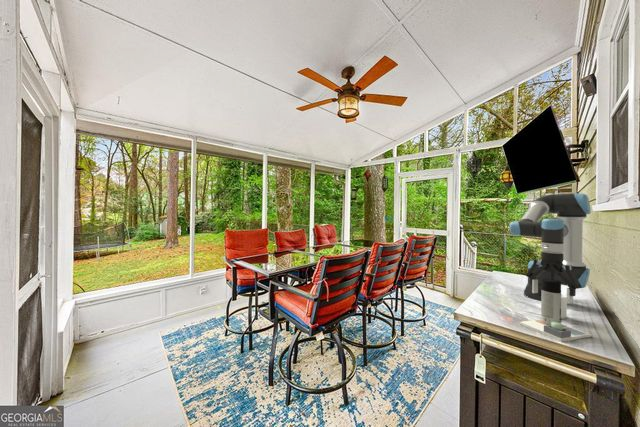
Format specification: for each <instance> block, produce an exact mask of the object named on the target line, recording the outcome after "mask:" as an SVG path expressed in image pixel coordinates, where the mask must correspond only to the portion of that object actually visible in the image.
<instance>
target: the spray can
mask: <svg viewBox="0 0 640 427" xmlns="http://www.w3.org/2000/svg"><path fill="white" fill-rule="evenodd" d="M561 294H562V285H561V282H560V281H558V280H554V279H542V288H541V300H540V301H541V302H540V305H541V307H540V308H541V309H540V319H541V321H542V322H543V323H545V324H548V325H551V322H558V323H561V324H562V319H561Z"/></svg>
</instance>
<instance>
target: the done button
mask: <svg viewBox="0 0 640 427" xmlns="http://www.w3.org/2000/svg"><path fill="white" fill-rule="evenodd" d="M563 324H564V323H562V322H561V323H558V322H551V328H553V329H556V330H558V331H563Z"/></svg>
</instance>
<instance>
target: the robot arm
mask: <svg viewBox="0 0 640 427" xmlns="http://www.w3.org/2000/svg"><path fill="white" fill-rule="evenodd" d="M590 203H591V202H590V198H589V196H588V195H587V194H585V193H576V192H575V193H558V194H557V193H556V194H555V193H554V194H547V195H545V194H544V195H542V196H540V197H538V198H535V199H534V200H532V201H531V202H530V203H529V205H528V208H527V210H526V212H525V213H524V215H523V216H521V218H520V220H516V221H514V220H513V221H511V222H510V223H509V233H510V234H511V235H512V236H519V237H538V238H541V243H540V244H541V246H540V247H541V252H540V259H541V260H540V259H534V260H531V261H529V262H528V264H527V273H526V275H525V276H526V277H527V283H526V285H525V288H524V290H523V295H524V296H525V295H526V296H528V297H527V298H529V297H530V298H529V299H532V298H534V299H533V300H536V299H538V300H537V301H541V288H542V279H554V280H558V281H560V282H561V286H566V296H567V304H573V303H574V297H575V296H576V292H577V291H576V290H577V289H585V288H586V287H587V285H588V283H589V282H588V281H589V278H590V274H591V273H590V272H591V269H590V268H588V267H587V264H585V263H584V262H583V226H584V225H583V224H584V222H583V221H584V220H585V219H586V218H587V215H590V214H591V205H590ZM547 214H551V215H553V214H554V215H556V214H557V218H543V216H545V215H547ZM542 218H543V219H542ZM526 296H525V297H526Z"/></svg>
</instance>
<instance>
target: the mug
mask: <svg viewBox="0 0 640 427" xmlns="http://www.w3.org/2000/svg"><path fill="white" fill-rule="evenodd" d="M567 307H568V303H567V295H564V294H562V293H561V320H562V319H566V318H567V316H568V312H567V310H568V308H567Z"/></svg>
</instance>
